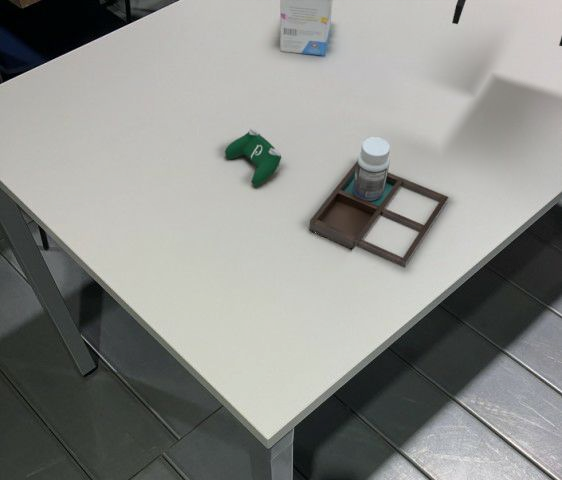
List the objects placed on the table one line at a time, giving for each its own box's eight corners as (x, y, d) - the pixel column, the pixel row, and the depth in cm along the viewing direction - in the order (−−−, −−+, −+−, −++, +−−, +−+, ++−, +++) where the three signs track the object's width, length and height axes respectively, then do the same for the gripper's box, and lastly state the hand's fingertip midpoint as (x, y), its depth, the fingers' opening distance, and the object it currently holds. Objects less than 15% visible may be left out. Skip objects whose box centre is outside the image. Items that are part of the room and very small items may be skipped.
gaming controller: (267, 192, 98) (290, 160, 96) (253, 185, 95) (276, 152, 93) (235, 160, 102) (256, 128, 100) (220, 152, 99) (242, 120, 96)
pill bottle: (359, 176, 97) (367, 131, 90) (387, 186, 96) (397, 141, 89) (347, 195, 95) (354, 150, 87) (376, 206, 94) (385, 161, 86)
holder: (445, 206, 95) (448, 196, 93) (403, 272, 88) (405, 263, 86) (356, 170, 99) (357, 159, 97) (308, 230, 92) (309, 220, 90)
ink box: (331, 31, 118) (338, -45, 107) (325, 57, 114) (331, -20, 103) (286, 26, 119) (288, -51, 108) (279, 51, 115) (280, -26, 103)
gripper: (633, -56, 84) (600, 70, 79) (452, -89, 88) (409, 29, 83) (662, -113, 76) (627, 22, 72) (462, -146, 80) (417, -20, 76)
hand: (510, 26), depth 77 cm, fingers open, 13 cm apart
